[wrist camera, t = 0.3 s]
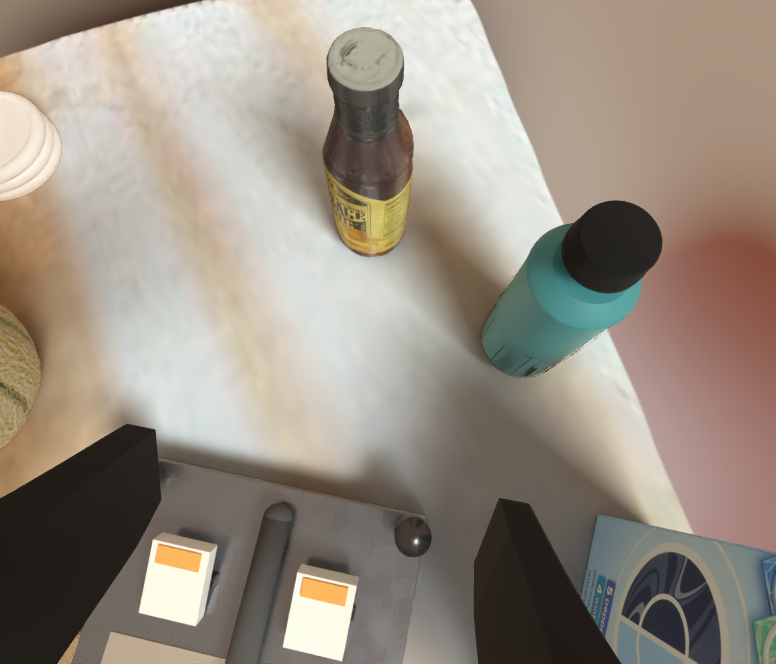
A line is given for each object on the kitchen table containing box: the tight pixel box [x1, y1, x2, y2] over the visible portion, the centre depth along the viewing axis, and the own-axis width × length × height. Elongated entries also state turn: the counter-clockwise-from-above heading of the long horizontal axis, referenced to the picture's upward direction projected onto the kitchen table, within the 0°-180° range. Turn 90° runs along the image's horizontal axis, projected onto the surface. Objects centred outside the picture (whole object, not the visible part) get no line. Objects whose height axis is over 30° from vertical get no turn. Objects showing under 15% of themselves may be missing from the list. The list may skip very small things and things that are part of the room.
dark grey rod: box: [225, 503, 292, 664], centre depth 32 cm, size 14×2×2 cm, turn 168°
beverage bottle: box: [481, 201, 662, 378], centre depth 31 cm, size 6×7×20 cm
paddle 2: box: [283, 564, 359, 661], centre depth 32 cm, size 5×4×1 cm
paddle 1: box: [139, 532, 217, 626], centre depth 32 cm, size 5×4×1 cm
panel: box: [71, 457, 431, 664], centre depth 33 cm, size 14×22×6 cm, turn 78°
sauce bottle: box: [323, 27, 414, 257], centre depth 34 cm, size 6×6×20 cm
